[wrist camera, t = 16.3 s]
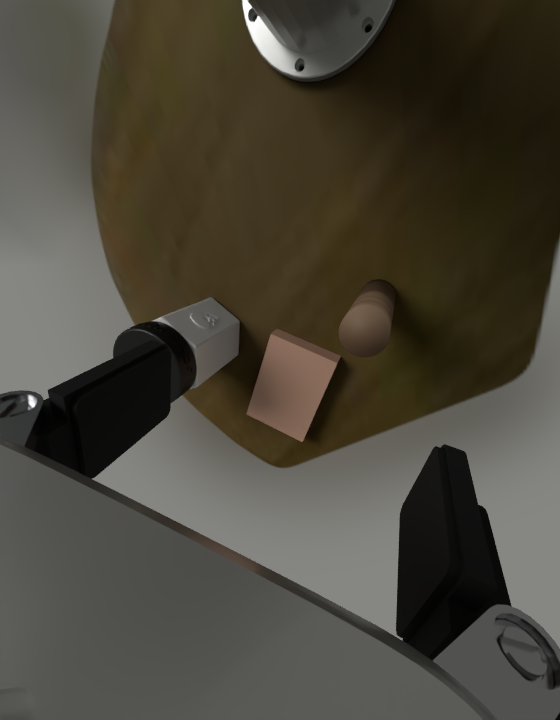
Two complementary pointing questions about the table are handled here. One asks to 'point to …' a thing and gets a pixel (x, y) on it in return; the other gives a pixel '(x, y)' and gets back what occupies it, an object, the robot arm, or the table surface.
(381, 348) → the stick
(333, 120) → the table surface
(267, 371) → the tile
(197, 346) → the jar
